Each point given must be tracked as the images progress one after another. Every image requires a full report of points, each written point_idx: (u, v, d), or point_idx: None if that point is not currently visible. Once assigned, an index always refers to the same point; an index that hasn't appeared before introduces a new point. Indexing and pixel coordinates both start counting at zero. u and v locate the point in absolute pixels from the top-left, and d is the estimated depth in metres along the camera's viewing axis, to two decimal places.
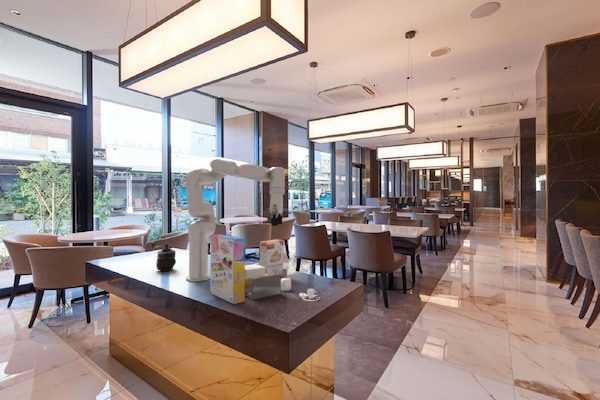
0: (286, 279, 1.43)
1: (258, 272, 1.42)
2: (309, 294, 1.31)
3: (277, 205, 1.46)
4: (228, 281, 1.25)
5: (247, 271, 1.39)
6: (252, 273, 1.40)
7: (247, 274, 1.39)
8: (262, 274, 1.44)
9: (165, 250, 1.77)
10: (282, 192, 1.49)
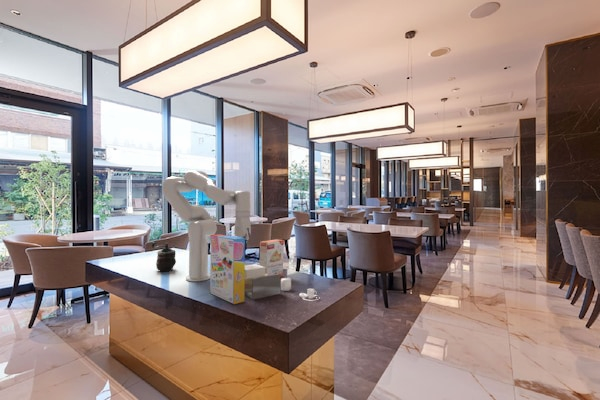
0: (286, 279, 1.43)
1: (258, 272, 1.42)
2: (309, 294, 1.31)
3: (249, 228, 1.50)
4: (228, 282, 1.25)
5: (247, 271, 1.39)
6: (252, 273, 1.40)
7: (247, 274, 1.39)
8: (262, 274, 1.44)
9: (165, 250, 1.77)
10: None
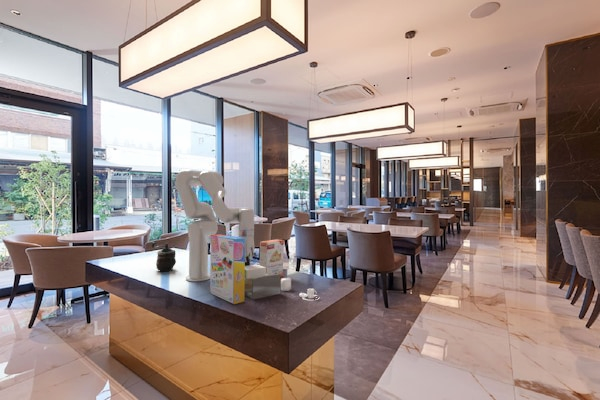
0: (286, 279, 1.43)
1: (259, 272, 1.41)
2: (309, 294, 1.31)
3: (253, 248, 1.46)
4: (228, 282, 1.25)
5: (248, 271, 1.38)
6: (253, 273, 1.39)
7: (248, 274, 1.38)
8: (263, 274, 1.43)
9: (165, 250, 1.77)
10: (253, 234, 1.50)
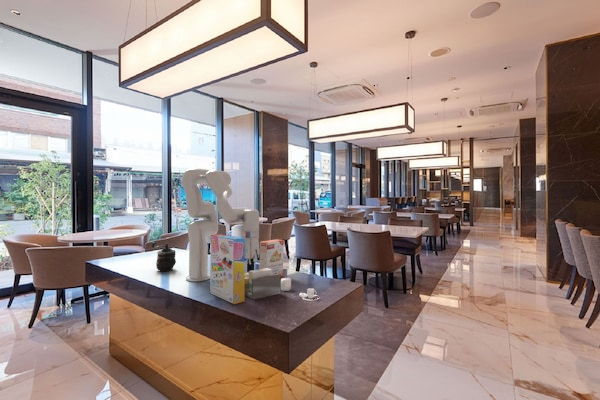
0: (286, 279, 1.43)
1: None
2: (309, 294, 1.31)
3: (258, 250, 1.42)
4: (228, 282, 1.25)
5: None
6: None
7: None
8: None
9: (165, 250, 1.77)
10: (258, 235, 1.46)
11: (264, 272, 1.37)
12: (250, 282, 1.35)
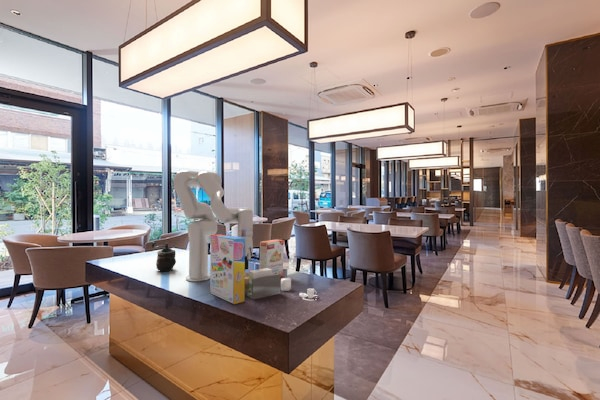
0: (286, 279, 1.43)
1: None
2: (309, 294, 1.31)
3: (252, 248, 1.47)
4: (228, 282, 1.25)
5: None
6: None
7: None
8: None
9: (165, 250, 1.77)
10: (252, 234, 1.51)
11: (264, 272, 1.37)
12: (250, 282, 1.35)
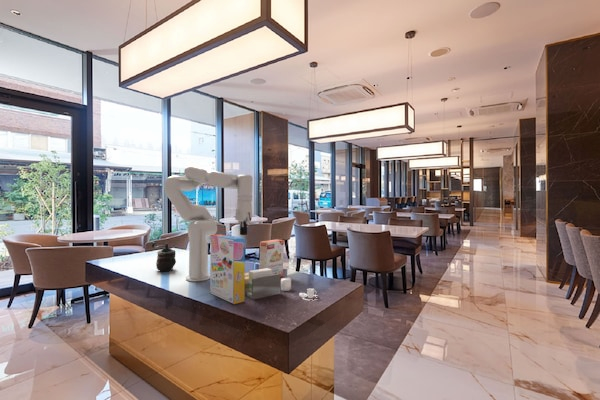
0: (286, 279, 1.43)
1: None
2: (309, 294, 1.31)
3: (251, 213, 1.48)
4: (228, 282, 1.25)
5: None
6: None
7: None
8: None
9: (165, 250, 1.77)
10: (251, 200, 1.52)
11: (264, 272, 1.37)
12: (250, 282, 1.35)
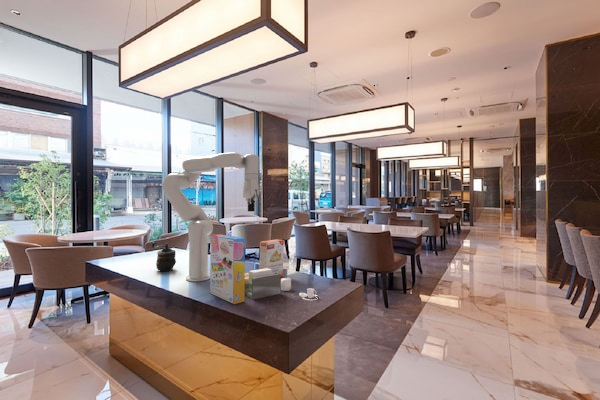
0: (286, 279, 1.43)
1: None
2: (309, 293, 1.31)
3: (258, 190, 1.57)
4: (228, 282, 1.25)
5: None
6: None
7: None
8: None
9: (165, 250, 1.77)
10: None
11: (264, 272, 1.37)
12: (250, 282, 1.35)
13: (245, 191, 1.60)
